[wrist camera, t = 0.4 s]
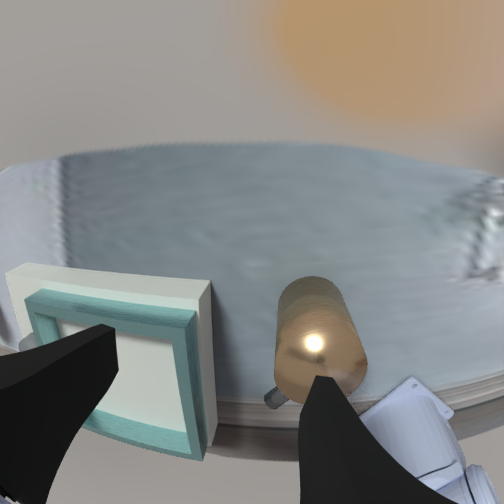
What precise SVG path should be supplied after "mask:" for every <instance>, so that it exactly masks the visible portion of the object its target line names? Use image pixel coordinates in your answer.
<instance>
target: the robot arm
mask: <svg viewBox="0 0 504 504" xmlns="http://www.w3.org/2000/svg"><path fill="white" fill-rule="evenodd" d="M118 371H119V366H118V356H117V345H116V332H115V328H113V327H110V326H107V325H105V324H98V325H95V326H93V327H90V328H87V329H85V330H82V331H80V332H77V333H74V334H72V335H69V336H67V337H64V338H62V339H59V340H56V341H54V342H51V343H48V344H45V345H42V346H39V347H36V348H33V349H30V350H26V351H22V352H18V353H13V354H9V355H4V356H0V504H11V503H10V502H8V501H7V500H6V499H5V497H6V496H7V497H8V498H10V499H11V500H12V501H13V502H16V501H18V502H19V503H20V504H46V501H47V498H48V494H49V491H50V488H51V486H52V483H53V480H54V478H55V475H56V473H57V470H58V468H59V466H60V464H61V462H62V460H63V457H64V455H65V453H66V451H67V449H68V448H69V446H70V444H71V442H72V440H73V438H74V437H75V435H76V433H77V432H78V431H79V429H80V428H81V426H82V425H83V424H84V422H85V421H86V420H87V418H88V417H89V416H90V414H91V413H92V412H93V410H94V409H95V408H96V406H97V405H98V404H99V402H100V401H101V400H102V398H103V397H104V395H105V394H106V393H107V391H108V390H109V388H110V386H111V384H112V383H113V381H114V379H115V377H116V375H117V373H118ZM414 384H415V385H414ZM453 414H454V411H453V410H452V409H451V408H450V407H449V406H448V405H446V404H445V403H444V402H443V401H442V400H441V399H439V398H438V397H437V396H436V395H435V394H434V393H433V392H431V391H430V390H429V389H428V388H427V387H426V386H424V385H423V384H422V383H421V382H420V381H419V380H417V379H416V378H415V377H410V378H408V379H407V380H406V381H404V382H403V383H402V384H401V385H400V386H398V387H397V388H396V389H395V390H393V391H392V392H391V393H390V394H388V395H387V396H386V397H385V398H383V399H382V400H381V401H379V402H378V403H377V404H375V405H374V406H373V407H371V408H370V409H369V410H367V411H366V412H365V413H363V414H362V415H360V416H358V415H357V414H356V412H355V411H354V409H353V408H352V406H351V405H350V403H349V402H348V400H347V398H346V397H345V395H344V394H343V392H342V391H341V389H340V387H339V386H338V384H337V383H336V381H335V380H334V378H333V377H327V376H319V375H316V376H315V379H314V381H313V384H312V386H311V389H310V391H309V394H308V396H307V399H306V401H305V404H304V406H303V408H302V411H301V413H300V421H299V434H298V447H299V467H300V488H301V491H300V492H301V493H300V494H301V495H300V504H501V503H500V501H499V498H498V495H497V493H496V491H495V488H494V486H493V484H492V482H491V480H490V478H489V476H488V474H487V473H486V471H485V470H484V468H483V467H482V466H481V465H474V464H471V465H470V466H469V467H467V468H466V460H465V456H464V454H463V452H462V449H461V447H460V445H459V443H458V441H457V439H456V437H455V435H454V433H453V430H452V428H451V426H450V424H449V422H448V419H449V418H451V417H452V416H453Z"/></svg>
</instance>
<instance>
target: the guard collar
mask: <svg viewBox="0 0 504 504" xmlns="http://www.w3.org/2000/svg"><path fill="white" fill-rule="evenodd" d="M24 301H25V305H26V309H27V312H28V316H29V320H30V323H31V326H32V329H33V333H34V336H35V339H36V342H37V345H38V347H39V346H42V345H45V344H48V343H51V342H54V341H56V340H59V339H62V338H61V335H60V332H59V328H58V324H57V321H56V318H60V319H64V320H69V321H73V322H77V323H82V324H86V325H91V326H95V325H98V324H105V325H107V326H110V327H113V328H115V331H120V332H126V333H131V334H137V335H143V336H149V337H155V338H162V339H169V340H172V347H173V355H174V362H175V368H176V375H177V381H178V388H179V394H180V399H181V405H182V410H183V416H184V421H185V426H186V431H187V433H186V432H181V431H176V430H171V429H166V428H162V427H157V426H153V425H149V424H145V423H141V422H137V421H134V420H130V419H127V418H123V417H120V416H116V415H113V414H110V413H107V412H104V411H101V410H98V409H94V410H93V412H92V413H91V414H90V416H89V417H88V418H87V420H86V421H85V422H84V424H83V425H82V426H81V427H82V428H85V429H87V430H90V431H93V432H95V433H98V434H101V435H103V436H106V437H109V438H112V439H115V440H118V441H121V442H124V443H127V444H131V445H134V446H138V447H141V448H145V449H148V450H152V451H156V452H160V453H164V454H169V455H173V456H177V457H182V458H187V459H192V460H197V461H203V459H204V455H205V452H206V448H207V445H208V435H207V427H206V419H205V410H204V402H203V392H202V382H201V372H200V361H199V349H198V337H197V322H196V310H189V309H179V308H170V307H161V306H153V305H145V304H137V303H130V302H123V301H116V300H109V299H102V298H96V297H89V296H83V295H77V294H72V293H66V292H60V291H55V290H49V289H44V288H42V289H40V290H38V291H37V292H35V293H33V294H32V295H30V296H29V297H27V298H25V299H24Z"/></svg>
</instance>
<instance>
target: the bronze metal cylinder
mask: <svg viewBox="0 0 504 504" xmlns="http://www.w3.org/2000/svg"><path fill="white" fill-rule="evenodd" d="M366 372H367V358H366V354H365V352H364V349H363V347H362V344H361V341H360V339H359V336H358V334H357V331H356V329H355V326H354V324H353V321H352V319H351V316H350V314H349V312H348V309H347V307H346V304H345V302H344V300H343V297H342V295H341V293H340V291H339V289H338V288H337V287H336V286H335V285H334V284H333V283H332V282H331V281H329V280H327V279H325V278H321V277H316V276H309V277H304V278H300V279H298V280H296V281H294V282H292V283H291V284H289V285H288V286H287V287H286V288H285V290H284V291H283V292H282V294H281V296H280V298H279V302H278V315H277V333H276V350H275V365H274V379H275V382H276V385H277V386H276V387H275V388H273V389H272V390H271V391H270V392H268V393H267V394H266V395H264V401H265V403H266V405H267V406H268V407H270V408H271V409H277V408H278V407H280V406H281V405H282V404H284V403H285V402H286V401H288V400H289V399H291V400H293V401H295V402H298V403H301V404H305V401H306V399H307V396H308V394H309V391H310V389H311V386H312V384H313V381H314V379H315V376H316V375H319V376H327V377H333V378H334V380H335V381H336V383H337V384H338V386H339V387H340V389H341V391H342V392H343V394H344V395H345V397H347V396H348V395H350V394H351V393H352V392H354V391H355V390H356V389H357V388H358V387H359V385H360V384H361V383H362V381H363V379H364V377H365V375H366Z"/></svg>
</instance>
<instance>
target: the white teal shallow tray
mask: <svg viewBox="0 0 504 504" xmlns="http://www.w3.org/2000/svg"><path fill="white" fill-rule="evenodd" d="M5 275H6V280H7V284H8V288H9V292H10V296H11V300H12V304H13V308H14V311H15V315H16V318H17V321H18V325H19V328H20V331H21V334H22V337H23V339H22V340H21V341H20V342H19V351H20V352H22V351H26V350H30V349H33V348H36V347H38V345H37V342H36V339H35V336H34V333H33V329H32V326H31V323H30V320H29V316H28V312H27V309H26V305H25V301H24V299H25V298H27V297H29V296H30V295H32V294H33V293H35V292H37V291H38V290H40V289H42V288H44V289H49V290H55V291H60V292H66V293H72V294H77V295H83V296H89V297H96V298H102V299H109V300H116V301H123V302H130V303H137V304H145V305H153V306H161V307H170V308H179V309H189V310H196V322H197V337H198V349H199V361H200V372H201V382H202V392H203V402H204V410H205V419H206V427H207V435H208V445H207V446H212V442H213V439H214V435H215V431H216V428H217V424H218V417H217V404H216V390H215V374H214V357H213V337H212V313H211V282H210V281H209V280H195V279H182V278H170V277H158V276H147V275H136V274H125V273H115V272H105V271H95V270H86V269H77V268H68V267H59V266H51V265H42V264H34V263H25V264H23V265H21V266H18V267H16V268H14V269H12V270H10V271H8V272H6V273H5ZM56 321H57V324H58V328H59V332H60V335H61V338H64V337H67V336H69V335H72V334H74V333H77V332H80V331H82V330H85V329H87V328H90V327H93V326H91V325H86V324H82V323H77V322H73V321H69V320H64V319H60V318H56ZM115 332H116V345H117V356H118V366H119V371H118V373H117V375H116V377H115V379H114V381H113V383H112V384H111V386H110V388H109V390H108V391H107V393H106V394H105V395H104V397H103V398H102V400H101V401H100V402H99V404H98V405H97V406H96V408H95V409H98V410H101V411H104V412H107V413H110V414H113V415H116V416H120V417H123V418H127V419H130V420H134V421H137V422H141V423H145V424H149V425H153V426H157V427H162V428H166V429H171V430H176V431H181V432H186V433H187V431H186V426H185V421H184V416H183V410H182V405H181V399H180V394H179V388H178V381H177V375H176V368H175V362H174V355H173V347H172V340H169V339H162V338H155V337H149V336H143V335H137V334H131V333H126V332H120V331H115Z"/></svg>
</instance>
